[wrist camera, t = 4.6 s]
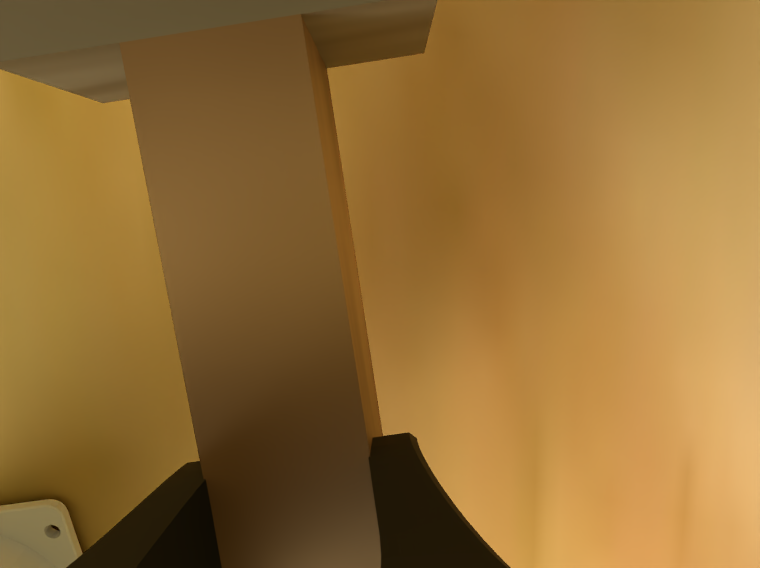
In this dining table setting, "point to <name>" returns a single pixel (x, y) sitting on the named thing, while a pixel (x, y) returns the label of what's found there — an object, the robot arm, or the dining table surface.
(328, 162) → the hammer
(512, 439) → the dining table surface
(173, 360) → the dining table surface
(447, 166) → the dining table surface
